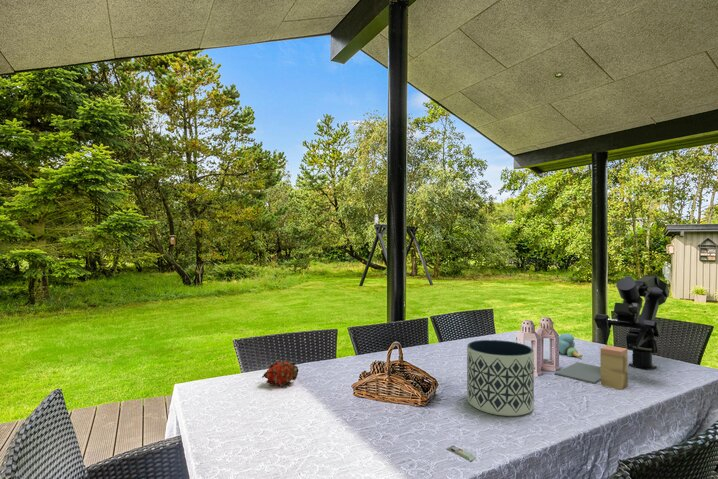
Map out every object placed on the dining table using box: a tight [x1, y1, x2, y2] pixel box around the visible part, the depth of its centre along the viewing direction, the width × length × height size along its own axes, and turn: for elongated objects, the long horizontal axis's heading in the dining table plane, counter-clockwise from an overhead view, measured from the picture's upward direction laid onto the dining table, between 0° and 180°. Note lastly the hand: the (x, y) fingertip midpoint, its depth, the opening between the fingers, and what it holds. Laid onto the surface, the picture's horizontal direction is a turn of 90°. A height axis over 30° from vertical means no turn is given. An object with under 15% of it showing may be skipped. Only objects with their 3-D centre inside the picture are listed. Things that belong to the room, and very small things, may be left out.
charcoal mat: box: [554, 361, 601, 385], centre depth 144 cm, size 20×13×1 cm, turn 130°
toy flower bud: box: [558, 333, 583, 359], centre depth 167 cm, size 7×9×12 cm
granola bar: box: [446, 445, 477, 462], centre depth 88 cm, size 7×2×1 cm, turn 38°
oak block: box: [599, 345, 629, 391], centre depth 132 cm, size 6×6×12 cm
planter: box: [466, 339, 535, 417], centre depth 116 cm, size 18×18×16 cm
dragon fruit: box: [261, 359, 300, 388], centre depth 132 cm, size 8×8×12 cm
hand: (620, 344), depth 136 cm, fingers open, 9 cm apart
